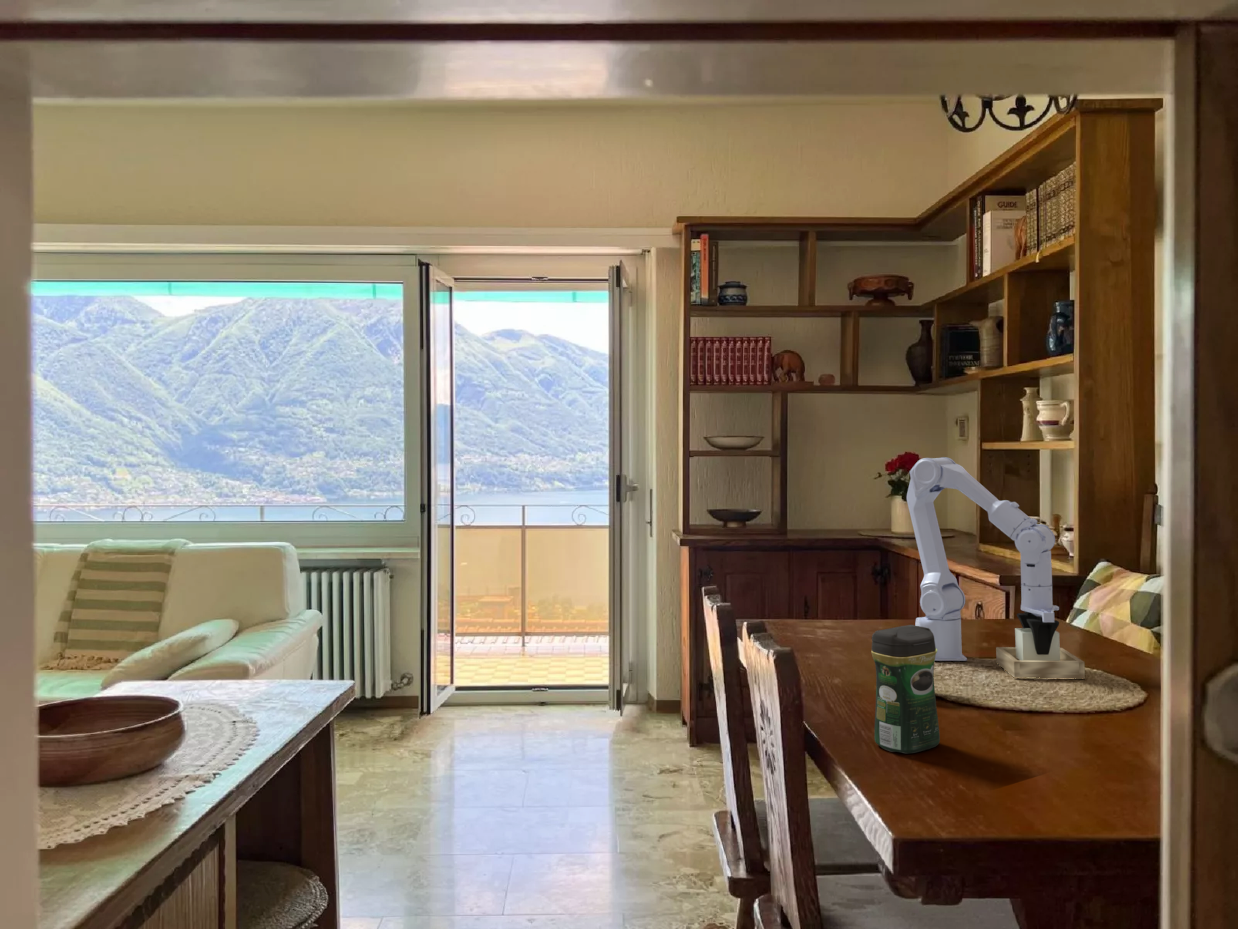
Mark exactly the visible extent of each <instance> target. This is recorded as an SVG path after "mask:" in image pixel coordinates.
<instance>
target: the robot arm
mask: <svg viewBox="0 0 1238 929" xmlns="http://www.w3.org/2000/svg"><path fill="white" fill-rule="evenodd" d="M909 476H910V480H909V483H908V484H909V485H908V488H907V493H906V502H907V508H908V511H909V515H910V519H911V525H912V528H913V529H912V530H913V531H914V537H915V540H916V541H915V542H916V546H917V549H918V554H919V558H920V562H921V563H920V564H921V566H922V567H921V568H922V570H923V578H922V581H921V583H920V585H919V587H920V592H921V593H920V594H921V595H920V599H919V603H920V604H919V606H920V608H921V610H922V612H923V613H924V614H925V616H921V617H916V618H915V626H921V627H926V628H929V629H930V630H931V632H932V633H933V635H934V640H935V647H936V649H937V653H936V656H935V661H936V662H938V661H940V662H946V661H948V662H951V661H953V662H960V661H961V662H966V661H968V658H967V657H966V656H965V655H964V654H963V653H962V652H963V650H962V648H963V646H962V615H961V610H962V609H963V608H964V606H965V604H966V596H965V593H964V591H963V590H962V588H961V587H960V586H959V583H958V580H957V578H956V576H955V575H954V574H953V573H952V572H951V571H950V568H949V564H948V559H947V555H946V551H945V547H944V542H943V538H942V533H941V530H940V525H939V521H938V517H937V513H936V508H935V503H934V501H935V500H936V498H938V496H939V495H940V493H941V492H942V491H943V490H944V489H952V490H953V489H954V490H957V491H959V492H960V493H962V494H963V495H964V496H966V497H967V498H968V499H969V500H970V501H973V502H974V503H975V504H977V505H978V506H979V507H981V508H982V509H983V510H985V511H986V512H987V517H988V521H989V522H990V523H991V524H993V525H994V526H995V527H996V528H997V529H999V530H1000V531H1001V532H1002V533H1003V534H1004V535H1006V536H1007V537H1008V538H1009V539H1011V540H1012V541H1014V545H1015V548H1016V549H1017V551H1018V552H1019V553H1020V587H1021V588H1020V589H1021V590H1020V591H1021V594H1020V595H1021V603H1020V610H1021V611H1023V613H1016V616H1017V619H1018V621H1019V623H1020V624H1021V628H1031V631H1032V634H1033V638H1034V644H1035V649H1036V653H1037V654H1038V655H1048V654H1049V651H1050V647H1051V642H1052V638H1053V635H1054V633H1055V631H1057V629H1058V627H1059V626H1060V621H1058V620H1055V612H1054V611H1059V610H1060V606H1058V605H1054V604H1053V603H1054V602H1053V569H1052V568H1053V566H1052V565H1053V564H1052V549H1053V548H1054V546H1055V543H1056V537H1055V534H1054V532H1053V531H1052V530H1051V529H1050V527H1049V526H1048V525H1046V524H1042V523H1041V524H1040V523H1039V524H1038V522H1039V521H1038V520H1037V518H1034V517H1033V518H1031V517H1030V516H1028V515H1027V514H1026V513H1025V512H1024V511H1022V510H1021V509H1020V505H1019V503H1017V502H1016V501H1010V500H1007V499H1005V500H999V499H998V498H997V497H996V496H995V495H994V494H992V493H991V492H990V491H989V490H988V489H987V488H986V487H985V486H984V485H982V484H981V483H980V482H979V481H978V480H977V479H976V478H975V477H974V476H972V475H971V474H970V473H969V472H968V471H967V470H966V469H965V468H964V466H962V465H960V464H959V463H956V462H955V461H954V459H952V458H950V457H945V456H942V457H936V458H935V457H934V458H933V457H923V458H921V459H919V460H917V462H916V463H915V464H914V465H913V466H912V468H911V469H910V470H909ZM935 661H934V662H935Z"/></svg>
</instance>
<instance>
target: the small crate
mask: <svg viewBox="0 0 1238 929" xmlns="http://www.w3.org/2000/svg"><path fill="white" fill-rule="evenodd" d="M1014 637H1015V640H1014V641H1015V647H1016V657H1017V658H1018V659H1019V660H1034V661H1060V644H1061V642H1060V640H1061V639H1060V632H1059V631H1057V630H1056V631H1055V633H1054V635H1053V638H1052V642H1051V647H1050V651H1049V654H1048V655H1038V654H1037V653H1036V649H1035V644H1034V638H1033V634H1032V631H1031V628H1023V627H1020V628H1019V627H1016V628H1014Z"/></svg>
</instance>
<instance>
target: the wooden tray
mask: <svg viewBox="0 0 1238 929" xmlns="http://www.w3.org/2000/svg"><path fill="white" fill-rule="evenodd" d="M995 651H996V652H995V654H996V655H995V656H996V658H995V659H996V664H997V663H998V664H999V665H1000V666H1001V667H1003V668H1004V669H1005V670H1007V671H1008V672H1009V673H1010V674H1011V675H1012V676H1013V677H1036V678H1039V677H1040V678H1074V679H1075V678H1076V679H1082V678H1083V679H1084V678H1085V676H1086V673H1085V672H1086V671H1085V667H1086V666H1085V660H1084V661H1083V660H1082V659H1080V658H1079V657H1077V656H1076V655H1074V654H1073V653H1071V652H1069V651H1068V650H1066V649H1064V648H1063V647H1060V661H1034V660H1019V659H1018V658H1017V657H1016V646H1015V647H1012V646H1010V647H1009V646H1005V647H1004V646H996V647H995ZM998 664H997V665H998ZM999 665H998V666H999ZM1000 666H999V667H1000ZM1001 667H1000V668H1001ZM1005 670H1004V671H1005ZM1013 677H1012V678H1013ZM1085 679H1086V678H1085Z"/></svg>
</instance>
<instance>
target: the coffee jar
mask: <svg viewBox="0 0 1238 929" xmlns="http://www.w3.org/2000/svg"><path fill="white" fill-rule="evenodd" d="M871 635H872V636H871V651H870V652H871V655H872V656H871V657H872V660H873V662H874V665H875V676H876V677H875V678H876V679H875V680H876V681H875V682H876V685H875V686H876V687H875V712H874V742H875V743H876V745H878V746H879V747H881V749H884V750H885V751H889V752H890V753H891V752H892V753H894V752H897V753H902V754H915V753H919V752H922V751H923V752H924V751H926V750H927V751H928V750H930V749H933V748H935V747H937V746H938V745H939V744H940V743H941V742H940V741H941V740H940V728H939V727H940V725H939V724H940V723H939V718H938V717H939V716H938V711H937V710H938V709H937V701H936V689H935V679H934V678H935V677H934V675H935V674H934V669H935V656H936V647H935V640H934V635H933V633H932V632H931V630H930V629H929V628H926V627H921V626H915V625H914V624H908V625H899V626H896V627H890V628H885V629H877V630H876V631H874V632H873V633H872V634H871Z"/></svg>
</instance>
